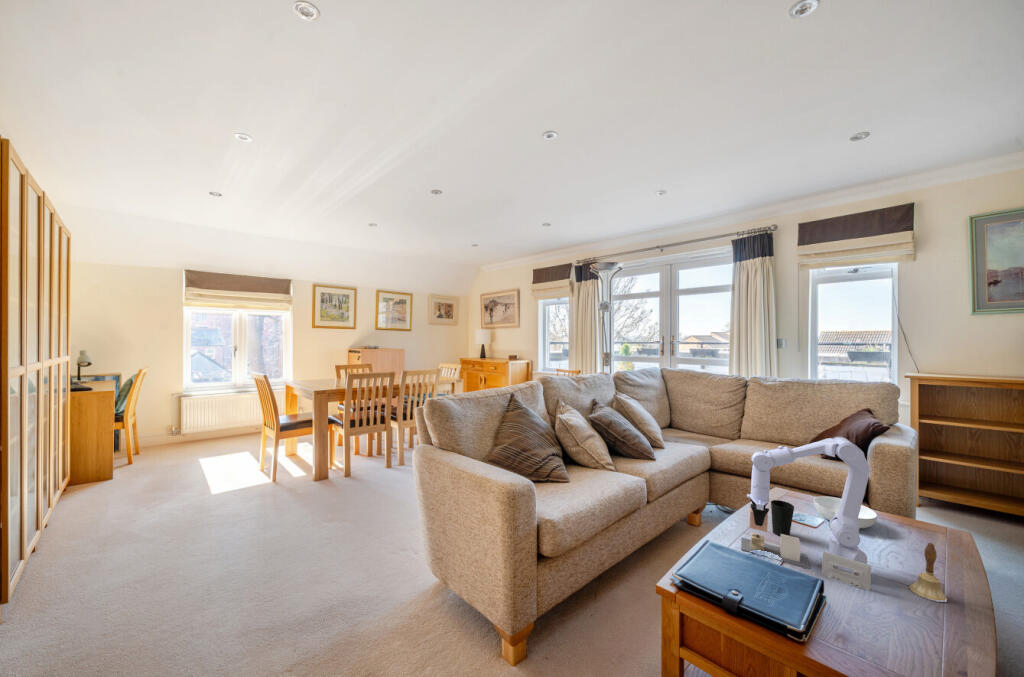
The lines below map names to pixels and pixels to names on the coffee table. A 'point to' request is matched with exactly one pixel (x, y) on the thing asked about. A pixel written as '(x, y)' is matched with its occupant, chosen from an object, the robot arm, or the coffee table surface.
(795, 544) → the cream block
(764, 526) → the terracotta cover
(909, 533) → the coffee table surface
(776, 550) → the charcoal mat
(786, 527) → the cup
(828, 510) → the serving bowl
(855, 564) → the cassette
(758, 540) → the letter cube
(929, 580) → the hand bell
